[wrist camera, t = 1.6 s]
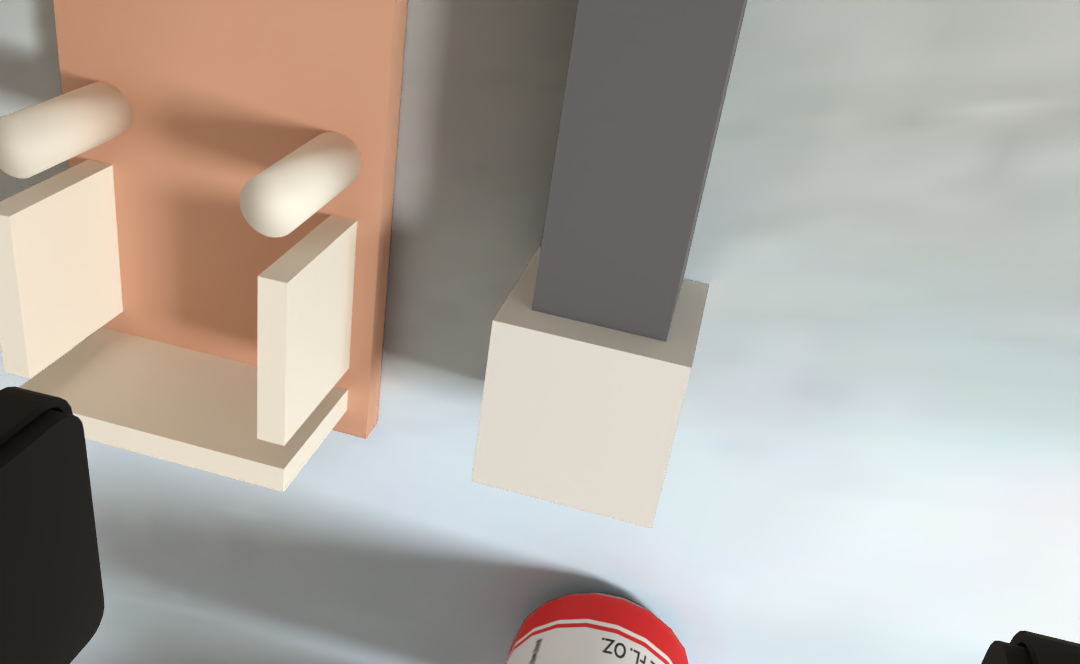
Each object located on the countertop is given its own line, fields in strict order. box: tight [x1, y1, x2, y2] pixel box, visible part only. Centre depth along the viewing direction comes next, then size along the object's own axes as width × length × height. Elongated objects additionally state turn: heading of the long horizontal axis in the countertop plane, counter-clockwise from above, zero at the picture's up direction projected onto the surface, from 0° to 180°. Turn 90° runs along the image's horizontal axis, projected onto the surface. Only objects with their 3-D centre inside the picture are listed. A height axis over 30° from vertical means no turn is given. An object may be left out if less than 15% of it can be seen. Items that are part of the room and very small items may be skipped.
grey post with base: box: [472, 0, 747, 528], centre depth 24 cm, size 23×5×5 cm, turn 172°
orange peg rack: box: [0, 0, 408, 492], centre depth 25 cm, size 26×10×6 cm, turn 172°
